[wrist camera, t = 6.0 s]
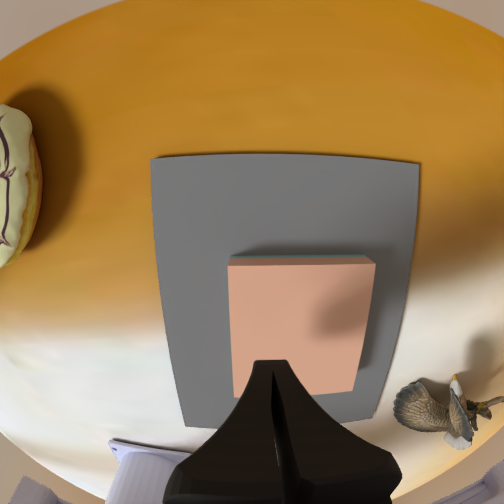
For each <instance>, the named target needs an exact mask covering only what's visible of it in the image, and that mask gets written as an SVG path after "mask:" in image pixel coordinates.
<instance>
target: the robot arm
mask: <svg viewBox="0 0 504 504" xmlns="http://www.w3.org/2000/svg"><path fill="white" fill-rule="evenodd" d="M274 438H275V439H274ZM275 444H276V447H275ZM108 445H109V447H110V449H111V450H112V452H113V454H114V455H115V457H116V459H117V461H118V462H119V466H118V469H117V472H116V474H115V477H114V480H113V482H112V485H111V488H110V491H109V493H108V496H107V499H106V502H105V504H392V501H391V498H390V495H391V494H392V492H393V491H394V490H395V489H396V487H397V486H398V485H399V483H400V481H401V479H402V473H401V470H400V468H399V466H398V464H397V462H396V460H395V459H394V457H393V456H392V454H391V453H390V452H388V451H386V450H384V449H381V448H379V447H377V446H375V445H372V444H370V443H368V442H367V441H365V440H363V439H361V438H359V437H358V436H356V435H355V434H353V433H352V432H350V431H349V430H347V429H346V428H345V427H343V426H342V425H340V424H339V423H338V422H337V421H336V420H334V419H333V418H332V417H331V416H330V415H329V414H328V413H327V412H326V411H325V410H324V409H323V408H322V407H321V406H320V405H319V404H318V403H317V402H316V401H315V400H314V399H313V398H312V396H311V395H310V394H309V393H308V391H307V390H306V389H305V387H304V386H303V385H302V383H301V382H300V381H299V379H298V378H297V376H296V375H295V373H294V371H293V370H292V368H291V366H290V364H289V362H288V361H287V360H286V359H281V360H256V361H254V362H253V369H252V372H251V375H250V378H249V381H248V383H247V385H246V387H245V390H244V392H243V394H242V395H241V397H240V399H239V401H238V402H237V404H236V406H235V407H234V409H233V411H232V412H231V413H230V415H229V416H228V418H227V419H226V420H225V422H224V423H223V424H222V425H221V426H220V428H219V429H218V430H217V431H216V432H215V433H214V434H213V435H212V436H211V437H210V438H209V439H208V440H207V441H206V442H205V443H204V444H203V445H202V446H201V447H200V448H199V449H198V450H196V451H195V452H194V453H193V454H191V453H186V452H177V451H169V450H162V449H155V448H149V447H143V446H138V445H133V444H128V443H123V442H118V441H114V440H109V442H108ZM276 449H277V454H276ZM277 455H278V460H277ZM278 463H279V466H278ZM8 504H72V503H70V502H67V501H65V500H63V499H60V498H58V496H57V495H56V494H55V493H54V492H53V491H52V490H51V489H50V488H48V487H47V486H45V485H43V484H41V483H39V482H37V481H35V480H33V479H31V478H30V477H28V476H25V475H24V476H23V477H22V479H21V481H20V483H19V485H18V486H17V488H16V490H15V492H14V493H13V495H12V497H11V499H10V501H9V503H8ZM431 504H504V460H502V461H501V462H499V463H497V464H496V465H495V466H493V467H492V468H491V469H490V470H489V471H488V472H487V473H486V474H485V475H484V476H483V478H482V479H480V480H478V481H476V482H475V483H473V484H471V485H469V486H467V487H465V488H463V489H461V490H459V491H457V492H455V493H453V494H451V495H449V496H447V497H445V498H442V499H440V500H438V501H435V502H433V503H431Z"/></svg>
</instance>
